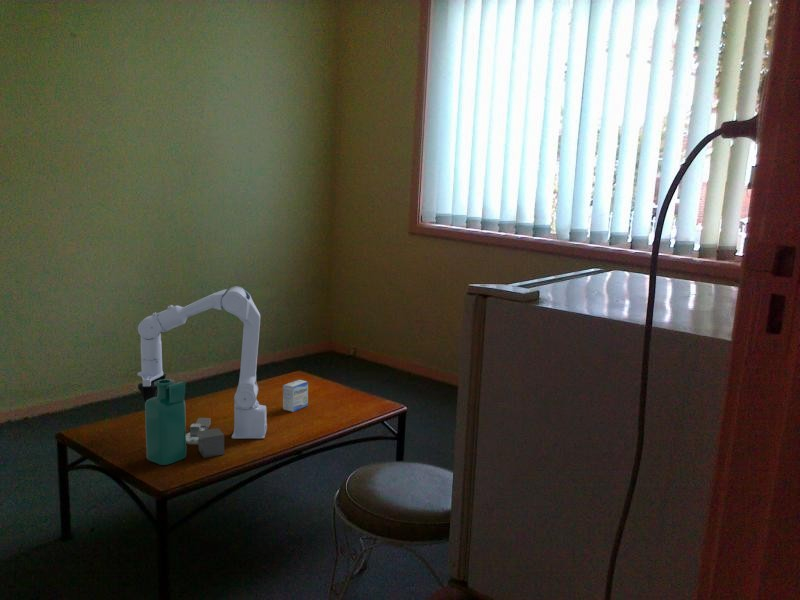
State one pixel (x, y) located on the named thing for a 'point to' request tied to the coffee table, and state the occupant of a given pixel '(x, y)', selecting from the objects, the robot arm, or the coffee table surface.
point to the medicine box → (295, 395)
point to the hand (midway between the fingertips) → (153, 403)
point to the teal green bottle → (166, 423)
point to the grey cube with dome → (211, 442)
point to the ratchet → (194, 428)
